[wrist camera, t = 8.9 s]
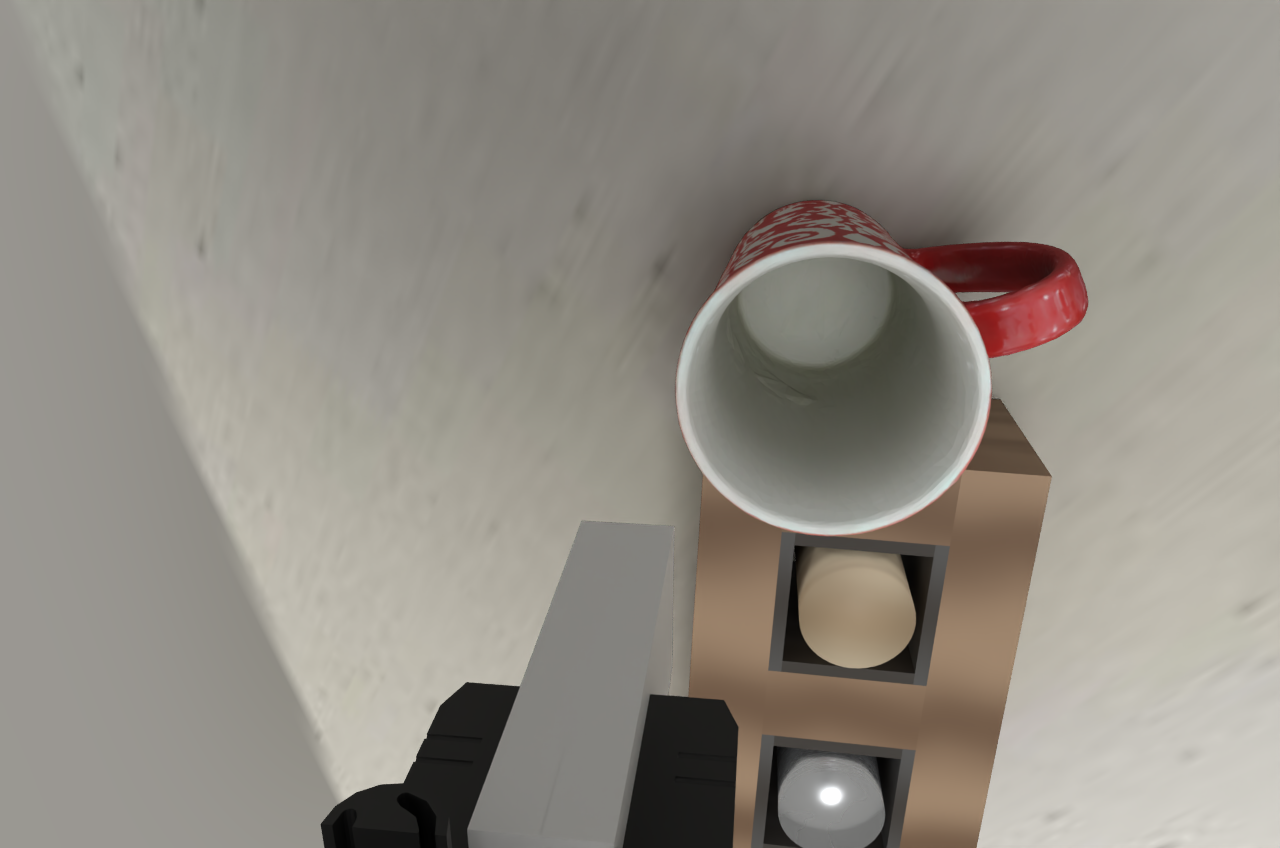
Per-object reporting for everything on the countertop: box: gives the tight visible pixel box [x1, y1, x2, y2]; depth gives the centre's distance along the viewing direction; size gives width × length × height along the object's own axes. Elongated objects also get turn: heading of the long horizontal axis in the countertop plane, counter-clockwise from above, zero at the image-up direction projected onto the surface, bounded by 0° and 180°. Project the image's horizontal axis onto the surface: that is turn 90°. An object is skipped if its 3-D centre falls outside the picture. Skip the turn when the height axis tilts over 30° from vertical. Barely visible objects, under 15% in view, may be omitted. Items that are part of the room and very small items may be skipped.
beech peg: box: [795, 545, 916, 668], centre depth 40 cm, size 4×4×8 cm
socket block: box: [689, 399, 1052, 848], centre depth 42 cm, size 21×12×8 cm, turn 178°
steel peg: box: [777, 746, 885, 848], centre depth 43 cm, size 4×4×8 cm
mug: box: [675, 200, 1088, 536], centre depth 35 cm, size 13×9×14 cm
